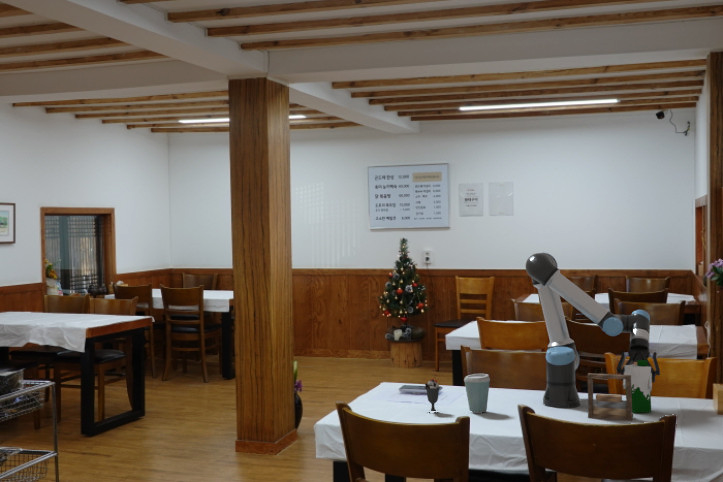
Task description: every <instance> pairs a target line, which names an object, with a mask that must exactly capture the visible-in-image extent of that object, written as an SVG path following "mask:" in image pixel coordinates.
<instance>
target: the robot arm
mask: <svg viewBox="0 0 723 482" xmlns="http://www.w3.org/2000/svg"><path fill="white" fill-rule="evenodd" d="M525 271H526V273H527V275H528V276H529V277H530V278H531V281H532V286H533V287H534V288H536V289H537V292H538V297H539V300H540V304H541V309H542V313H543V317H544V321H545V322H544V323H545V326H546V330H547V335H548V339H549V343H548V345H547V350H546V354H545V363H546V387H545V391H544V393H543V398H542V405H544V404H545V405H544V406H546V405H548V406H547V407H551V406H552V407H554V408H574V407H575V408H576V407H579V406H580V405H581V399H580V396H579V393H578V392H579V391H578V389H577V388H576V370H578V368H579V366H580V363H581V362H580V360H581V359H580V354H579V352H578V351H577V348H576V344H575V341H574V340H573V339H572V338H570V334H569V330H568V326H567V322H566V318H565V316H566V315H565V313H564V310H563V304H562V301H561V298H562V299H564V300H565V301H566V302H567V303H569V304H570V305H571V306H572V307H574V308H575V309H576V310H578V311H579V312H580V313H582V314H583V315H584V316H585V317H587V318H588V319H589V320H590V321H592V322H593V323H594V324H596V325H597V326H598V327H599V328H600V329H601V331H602V332H604V333H605V334H606V335H608V336H610V337H616V336H618V335H620V334H621V333H627V334H628V333H629V334H630V335H629V350H628V351H627V352H625V351H624V350H622V351H621V352H620V355H621V356H620V359H619V361H618V364H617V366H616V374H617V375H625V367H624V365H631V364H633V365H634V364H635V363H637V360H647V361H648V366H650V367H651V374H650V379H649V388H650V390H651V391H653V389H652V388H653V383H655V382H656V376H661V371H660V366H659V363H658V353H657V352H656V351H655V352H650V331H651V330H650V329H651V317H650V314H649V313H648V311H646V310H643V309H637V310H634V311H632V313H631V314H614V313H612V312H611V311H609V310H608V309H607V308H606V307H604V306H603V305H602V304H600V303H599V301H597V300H596V299H594V298H593V297H591V296H590V295H589V294H588V293H586V291H584V290H583V289H581V288H580V287H579V286H577V285H576V284H575V283H574V282H572V281H571V280H570V279H568V278H567V277H566V276H565V275H564V274H562V273H561V270H560V268H558V262H557V260H556V258H555V257H554V256H553V255H552V254H549V253H547V252H537V253H533V254H531V255H530V256H529V257H528V258H527V259H526V262H525ZM628 356H629V359H628V360H627V361H626V363H625V360H626V358H627V357H628ZM649 358H651V359H652V362H653V365H654V367H653V366H652V364H651V363H650V361H649V360H648V359H649ZM624 363H625V364H624ZM654 368H655V369H654ZM620 380H621V382H623V383H622V387H623V390H626V379H620Z"/></svg>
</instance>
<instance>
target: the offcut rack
mask: <svg viewBox="0 0 723 482" xmlns="http://www.w3.org/2000/svg"><path fill="white" fill-rule="evenodd" d="M594 379H612V380H621V379H626V389H625V391H626V390H627V400H626V399H623V396H622V394H607V393H606V394H603V393H597V394H596V395H595V404H594ZM587 402H588V403H587V405H588V406H587V407H588V414H587V419H601V420H614V421H615V420H616V421H627V422H628V421H629V422H630V421H631V422H633V419H634V413H633V412H632V393H631V375H621V374H618V373H616V374H614V373H613V374H612V373H591V372H588V373H587Z"/></svg>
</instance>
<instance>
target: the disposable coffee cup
mask: <svg viewBox="0 0 723 482" xmlns="http://www.w3.org/2000/svg"><path fill="white" fill-rule="evenodd" d="M489 376H490V374H487V373H473V374H469V375H466V376H464V379H463V381H464V387H465V391H466V397H467V402H468V408H469V411H472V412H477V413H476V414H483V413H482V412H485V413H486V412H487V410H488V400H489V391H490V381H491V378H490V377H489Z"/></svg>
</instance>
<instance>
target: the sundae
mask: <svg viewBox="0 0 723 482" xmlns="http://www.w3.org/2000/svg"><path fill="white" fill-rule="evenodd" d="M436 377H437V374H434V377H433V378H431V379H430V380H428V382H426V383H424V385H425V386H424V389H425V390H426V397H427V401H428V402H429V403H430V404H431V408H430V410H431V411H436V408H435V404H436V403H437V402H438V401H439V400H438V399H439V393H440V389H441V386H440V385H439V383H438V380H437V378H436Z"/></svg>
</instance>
